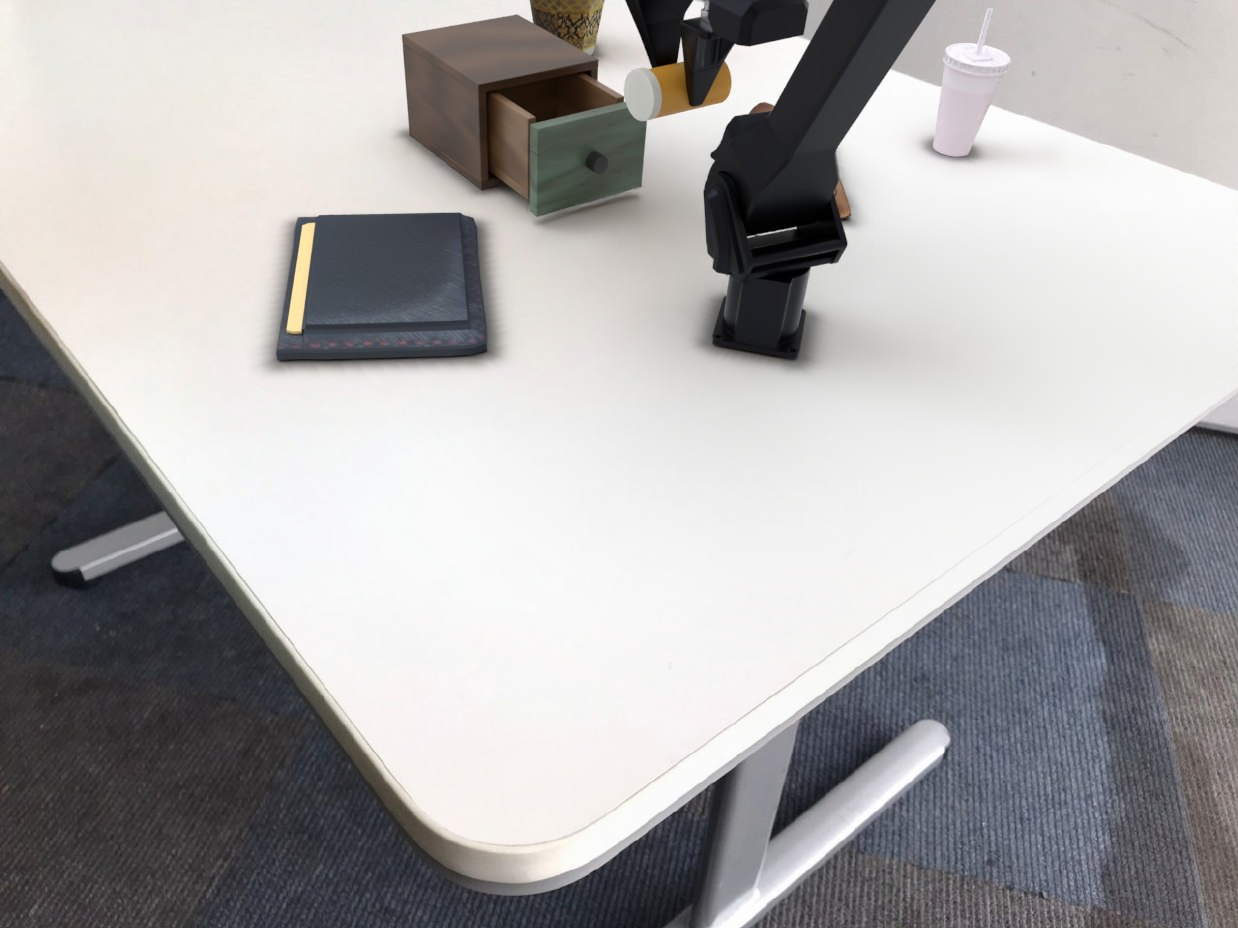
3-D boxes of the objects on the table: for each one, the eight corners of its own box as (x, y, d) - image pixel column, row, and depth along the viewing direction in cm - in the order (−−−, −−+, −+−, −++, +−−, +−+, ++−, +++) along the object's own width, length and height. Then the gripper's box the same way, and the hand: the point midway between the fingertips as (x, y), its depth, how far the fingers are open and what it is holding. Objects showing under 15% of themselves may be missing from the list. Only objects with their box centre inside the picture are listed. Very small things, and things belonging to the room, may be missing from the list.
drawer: (650, 192, 92) (657, 107, 87) (544, 223, 86) (546, 135, 81) (563, 136, 100) (566, 55, 95) (462, 161, 94) (458, 77, 89)
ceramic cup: (623, 49, 121) (628, -41, 115) (576, 73, 115) (579, -21, 108) (534, 24, 126) (534, -64, 119) (484, 45, 119) (482, -47, 113)
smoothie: (912, 152, 104) (950, 9, 95) (928, 130, 109) (966, -8, 99) (974, 168, 102) (1019, 24, 93) (988, 145, 107) (1032, 6, 97)
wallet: (487, 335, 72) (263, 339, 70) (487, 357, 73) (267, 362, 71) (480, 201, 86) (295, 202, 84) (481, 222, 88) (299, 222, 86)
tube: (698, 91, 83) (706, 44, 81) (727, 111, 81) (736, 64, 79) (621, 108, 80) (626, 61, 77) (650, 130, 77) (656, 82, 75)
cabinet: (594, 160, 98) (598, 59, 92) (481, 190, 92) (478, 84, 86) (517, 110, 106) (517, 14, 100) (409, 134, 100) (401, 34, 94)
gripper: (887, -105, 68) (837, 121, 78) (709, -166, 78) (686, 40, 89) (762, -88, 62) (727, 152, 73) (590, -156, 73) (581, 62, 84)
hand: (680, 96), depth 80 cm, fingers closed on tube, 3 cm apart
